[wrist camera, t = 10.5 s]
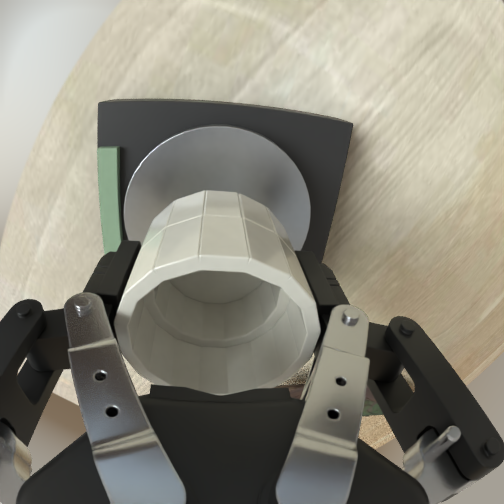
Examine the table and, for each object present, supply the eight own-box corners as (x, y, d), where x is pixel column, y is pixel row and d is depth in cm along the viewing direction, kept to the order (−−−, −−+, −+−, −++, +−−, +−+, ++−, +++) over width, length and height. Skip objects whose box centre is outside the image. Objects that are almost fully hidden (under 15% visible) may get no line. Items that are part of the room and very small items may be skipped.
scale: (118, 267, 22) (107, 292, 19) (112, 99, 16) (94, 102, 13) (303, 277, 24) (313, 302, 21) (338, 118, 18) (357, 124, 15)
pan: (133, 285, 19) (130, 292, 18) (127, 120, 14) (122, 122, 13) (289, 293, 20) (291, 301, 19) (322, 136, 15) (327, 139, 14)
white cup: (149, 305, 14) (131, 394, 10) (144, 182, 11) (100, 249, 7) (274, 311, 15) (295, 399, 11) (299, 193, 12) (345, 262, 8)
